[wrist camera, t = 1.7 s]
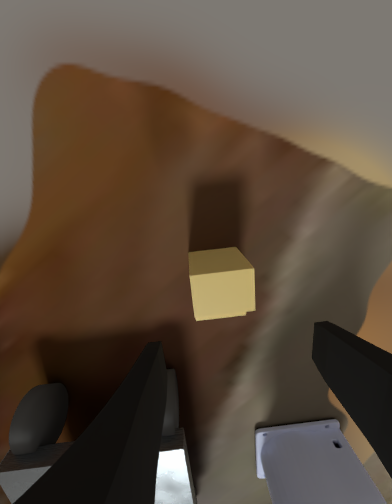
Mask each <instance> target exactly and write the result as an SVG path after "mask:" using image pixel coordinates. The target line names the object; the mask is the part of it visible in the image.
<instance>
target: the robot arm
mask: <svg viewBox="0 0 392 504" xmlns="http://www.w3.org/2000/svg"><path fill="white" fill-rule="evenodd" d="M312 359H313V361H314V363H315V364H316V366H317V368H318V370H319V372H320V373H321V375H322V377H323V379H324V380H325V382H326V383H327V385H328V386H329V387H330V389H331V390H332V392H333V393H334V394H335V396H336V397H337V398H338V400H339V401H340V403H341V404H342V406H343V407H344V408H345V410H346V411H347V412H348V414H349V415H350V417H351V418H352V419H353V421H354V422H355V423H356V425H357V426H358V428H359V429H360V430H361V432H362V433H363V435H364V436H365V437H366V438H367V440H368V442H369V443H370V445H371V446H372V448H373V449H374V451H375V452H376V454H377V455H378V457H379V459H380V460H381V462H382V464H383V465H384V467H385V468H386V470H387V472H388V473H389V475H390V477H391V478H392V354H391V353H389V352H387V351H385V350H383V349H381V348H379V347H377V346H375V345H373V344H371V343H369V342H367V341H365V340H363V339H361V338H360V337H358V336H356V335H354V334H352V333H350V332H348V331H346V330H344V329H342V328H341V327H339V326H337V325H335V324H333V323H330V322H328V321H324V322H315V323H314V336H313V350H312ZM167 379H168V375H167V370H166V364H165V359H164V354H163V348H162V343H161V341H158V342H150V343H148V344H147V345H146V346H145V348H144V349H143V351H142V353H141V354H140V356H139V358H138V359H137V361H136V362H135V364H134V366H133V367H132V369H131V370H130V372H129V373H128V375H127V376H126V378H125V379H124V381H123V382H122V383H121V385H120V386H119V388H118V389H117V390H116V392H115V393H114V394H113V396H112V397H111V398H110V400H109V401H108V403H107V404H106V405H105V406H104V408H103V409H102V410H101V411H100V413H99V414H98V415H97V416H96V418H95V419H94V420H93V421H92V422H91V424H90V425H89V426H88V427H87V428H86V429H85V431H84V432H83V433H82V434H81V435H80V436H79V437H78V438H77V440H76V441H75V442H74V443H73V444H72V445H71V446H70V447H69V448H68V449H67V451H66V452H65V453H64V454H63V455H62V456H61V457H60V458H59V459H58V460H57V461H56V462H55V463H54V464H53V465H52V466H51V467H50V468H49V469H48V470H47V471H46V472H45V473H44V474H43V475H42V476H41V477H40V478H39V479H38V480H37V481H36V482H35V483H34V484H33V485H32V486H31V487H30V488H29V489H28V490H27V491H26V492H25V493H24V494H22V495H21V496H20V497H19V498H18V499H17V500H16V501H15V502H14V503H13V504H155V491H156V477H157V468H158V459H159V452H160V445H161V438H162V431H163V424H164V416H165V409H166V401H167ZM339 428H340V423H339V422H338V420H336V419H331V420H323V421H315V422H307V423H299V424H292V425H284V426H276V427H268V428H260V429H257V430H256V431H255V447H256V473H257V477H258V478H266V481H267V485H268V489H269V492H270V496H271V500H272V503H273V504H387V503H386V501H385V499H384V498H383V496H382V495H381V493H380V491H379V490H378V488H377V487H376V485H375V483H374V482H373V480H372V479H371V477H370V476H369V474H368V473H367V471H366V469H365V468H364V466H363V465H362V463H361V462H360V460H359V458H358V457H357V455H356V454H355V452H354V451H353V449H352V447H351V446H350V444H349V443H348V441H347V440H346V438H345V437H344V435H343V433H342V432H341V430H340V429H339Z"/></svg>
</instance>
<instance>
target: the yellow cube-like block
mask: <svg viewBox="0 0 392 504" xmlns="http://www.w3.org/2000/svg"><path fill="white" fill-rule="evenodd" d="M188 254H189V274H190V283H191V291H192V299H193V307H194V316H195V318H196V321H200V320H208V319H217V318H225V317H233V316H242V315H246V312H248V311H255V282H254V268H253V266H252V265H251V264H250V263H249V262H248V260H247V259H246V258H245V257H244V256H243V255H242V253H241V252H240V251H239V250H238V249H237V247H230V248H221V249H212V250H204V251H195V252H188Z"/></svg>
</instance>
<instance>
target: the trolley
mask: <svg viewBox="0 0 392 504" xmlns="http://www.w3.org/2000/svg"><path fill="white" fill-rule="evenodd" d="M167 375H168V379H167V401H166V409H165V416H164V424H163V431H162V438H161V445H160V452H159V459H158V468H157V477H156V491H155V504H197V498H196V490H195V488H194V485H193V480H192V474H191V468H190V462H189V456H188V450H187V445H186V439H185V433H184V427H183V428H179V398H178V385H177V377H176V372H175V369H167ZM67 412H68V393H67V390H66V388H65V386H64V385H63V384H61V383H52V384H44V385H38V386H36V387H34V388H32V389H31V390H30V391H29V392H28V393H27V394H26V395H25V396H24V397H23V399H22V400H21V402H20V403H19V405H18V407H17V409H16V411H15V414H14V416H13V419H12V422H11V426H10V432H9V445H10V450H9V451H8V453H7V454H6V456H5V457H4V459H3V460H2V462H1V463H0V485H1V486H2V488H3V490H4V492H5V493H6V495H7V497H8V498H9V500H10V502H11V503H12V504H13V503H14V502H15V501H16V500H17V499H18V498H19V497H20V496H21V495H22V494H24V493H25V492H26V491H27V490H28V489H29V488H30V487H31V486H32V485H33V484H34V483H35V482H36V481H37V480H38V479H39V478H40V477H41V476H42V475H43V474H44V473H45V472H46V471H47V470H48V469H49V468H50V467H51V466H52V465H53V464H54V463H55V462H56V461H57V460H58V459H59V458H60V457H61V456H62V455H63V454H64V453H65V452H66V451H67V449H68V448H69V447H70V446H71V445H72V444H73V443H74V442H75V441H72V442H65V443H57V444H55V443H56V441H57V440H58V438H59V436H60V434H61V432H62V430H63V427H64V424H65V421H66V417H67Z"/></svg>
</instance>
